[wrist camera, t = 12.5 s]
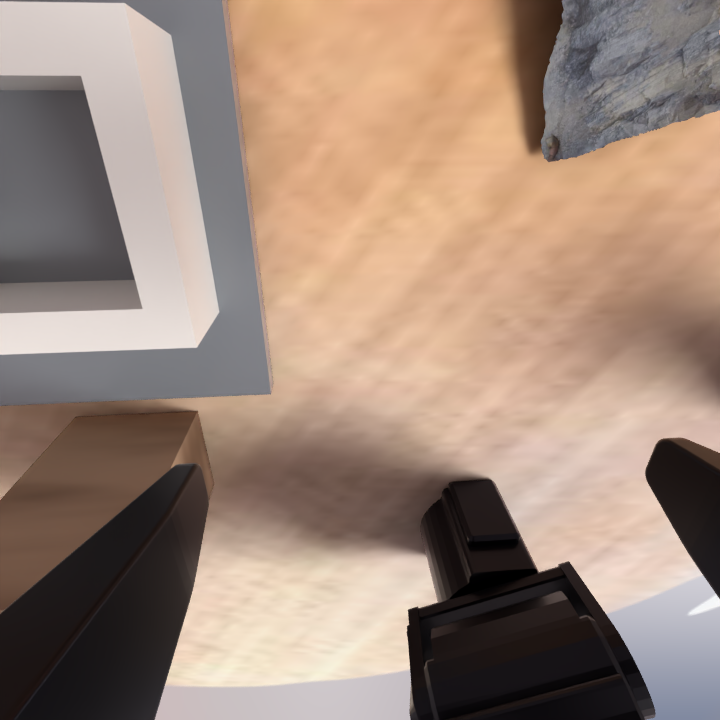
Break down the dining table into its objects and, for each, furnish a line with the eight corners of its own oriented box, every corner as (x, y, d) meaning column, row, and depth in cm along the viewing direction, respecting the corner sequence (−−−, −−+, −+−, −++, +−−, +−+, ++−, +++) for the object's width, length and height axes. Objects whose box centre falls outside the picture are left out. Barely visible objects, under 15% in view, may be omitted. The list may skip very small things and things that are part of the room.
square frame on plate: (273, 383, 21) (261, 440, 17) (-22, 395, 20) (-109, 458, 16) (211, -135, 12) (156, -266, 8) (-303, -152, 12) (-635, -308, 8)
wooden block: (214, 483, 24) (147, 688, 15) (105, 490, 23) (-31, 704, 14) (197, 411, 21) (106, 602, 12) (75, 416, 21) (-107, 618, 12)
